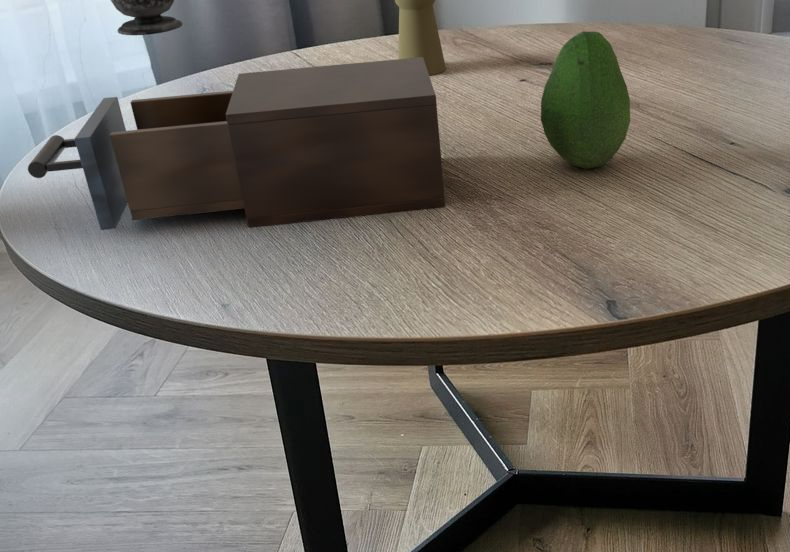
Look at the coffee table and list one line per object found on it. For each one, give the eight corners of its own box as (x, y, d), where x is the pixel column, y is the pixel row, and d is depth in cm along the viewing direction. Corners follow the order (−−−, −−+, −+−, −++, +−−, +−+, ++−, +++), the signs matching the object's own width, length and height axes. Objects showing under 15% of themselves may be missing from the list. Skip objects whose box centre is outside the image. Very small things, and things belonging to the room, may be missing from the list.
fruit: (546, 183, 85) (542, 46, 79) (538, 154, 92) (533, 25, 86) (636, 177, 85) (639, 39, 79) (621, 148, 92) (623, 18, 86)
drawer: (38, 236, 78) (8, 144, 74) (70, 187, 88) (45, 103, 84) (290, 210, 80) (274, 119, 76) (294, 164, 90) (280, 81, 86)
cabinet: (248, 227, 80) (225, 114, 75) (257, 175, 91) (238, 73, 86) (445, 206, 82) (435, 94, 77) (432, 157, 92) (422, 56, 88)
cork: (436, 77, 117) (428, -18, 112) (390, 75, 119) (380, -18, 113) (452, 64, 122) (445, -28, 116) (408, 63, 124) (399, -27, 118)
